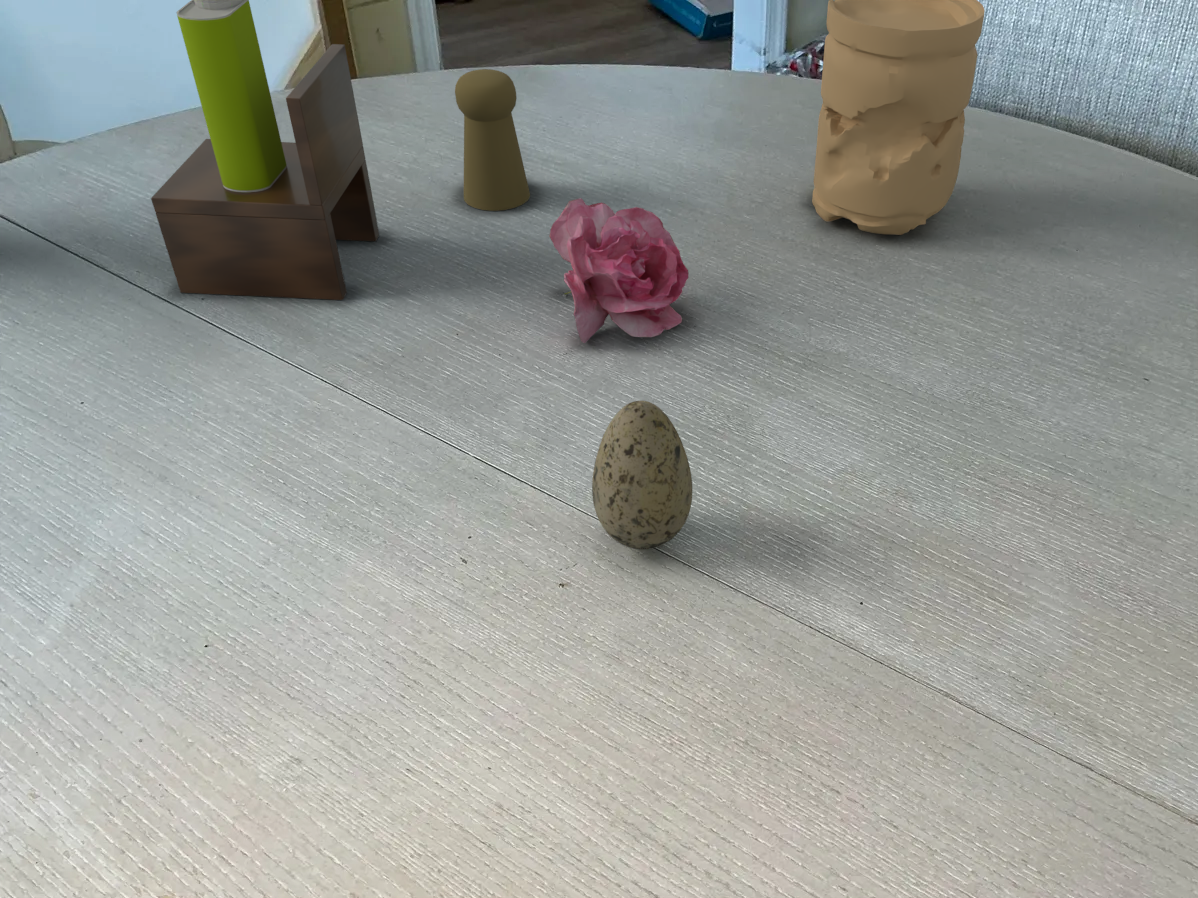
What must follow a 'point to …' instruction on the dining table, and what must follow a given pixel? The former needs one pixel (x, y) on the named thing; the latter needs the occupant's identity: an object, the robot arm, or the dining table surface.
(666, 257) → the flower
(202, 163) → the wooden toy chair
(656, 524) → the decorative egg
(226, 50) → the vape
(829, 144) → the container
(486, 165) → the brown peg doll
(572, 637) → the dining table surface
